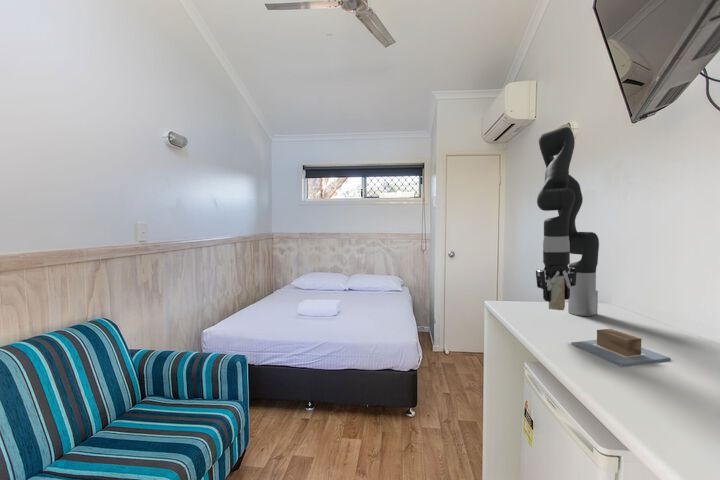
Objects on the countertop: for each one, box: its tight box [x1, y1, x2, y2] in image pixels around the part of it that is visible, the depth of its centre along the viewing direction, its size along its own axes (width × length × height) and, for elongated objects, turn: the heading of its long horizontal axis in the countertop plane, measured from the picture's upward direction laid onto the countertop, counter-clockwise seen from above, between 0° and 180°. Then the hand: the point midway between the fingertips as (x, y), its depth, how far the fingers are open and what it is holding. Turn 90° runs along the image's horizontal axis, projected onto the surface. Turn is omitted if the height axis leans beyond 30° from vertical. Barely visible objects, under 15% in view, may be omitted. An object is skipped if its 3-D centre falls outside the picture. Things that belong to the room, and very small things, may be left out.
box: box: [548, 276, 566, 311], centre depth 108 cm, size 5×4×11 cm
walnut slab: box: [596, 328, 642, 356], centre depth 95 cm, size 5×9×4 cm, turn 11°
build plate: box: [570, 339, 672, 367], centre depth 95 cm, size 16×16×1 cm
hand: (556, 299), depth 109 cm, fingers closed on box, 6 cm apart
